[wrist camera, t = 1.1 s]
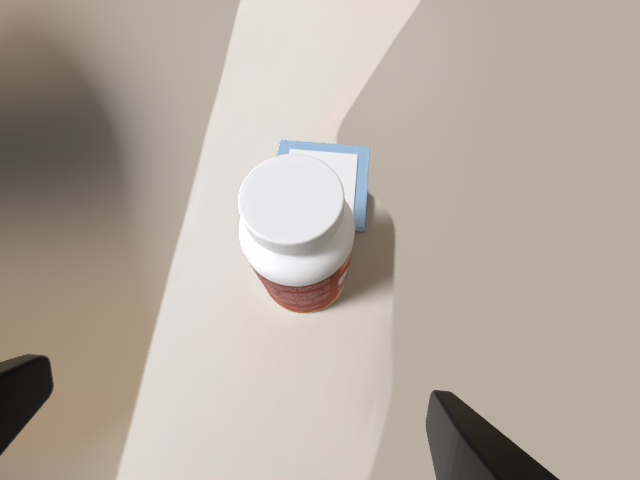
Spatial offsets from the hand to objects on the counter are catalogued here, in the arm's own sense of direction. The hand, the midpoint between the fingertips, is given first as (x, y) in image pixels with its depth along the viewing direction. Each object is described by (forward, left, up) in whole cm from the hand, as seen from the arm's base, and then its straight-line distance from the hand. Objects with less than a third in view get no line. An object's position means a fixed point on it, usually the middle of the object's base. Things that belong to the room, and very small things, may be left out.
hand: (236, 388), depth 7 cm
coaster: (+15, 0, -14) cm, 21 cm away
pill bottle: (+7, 0, -15) cm, 16 cm away
